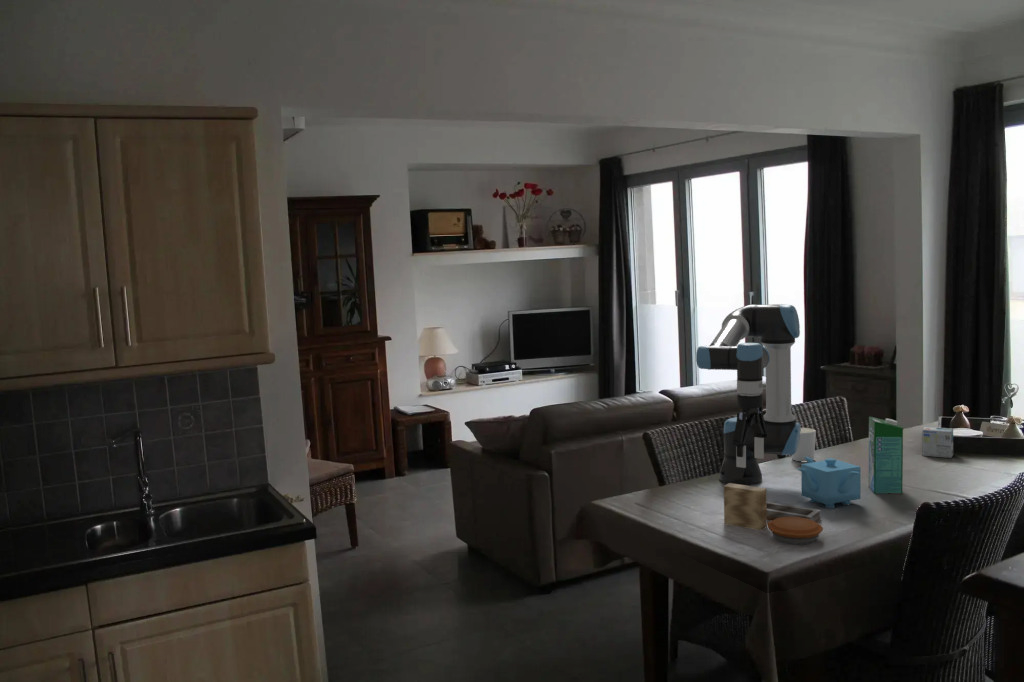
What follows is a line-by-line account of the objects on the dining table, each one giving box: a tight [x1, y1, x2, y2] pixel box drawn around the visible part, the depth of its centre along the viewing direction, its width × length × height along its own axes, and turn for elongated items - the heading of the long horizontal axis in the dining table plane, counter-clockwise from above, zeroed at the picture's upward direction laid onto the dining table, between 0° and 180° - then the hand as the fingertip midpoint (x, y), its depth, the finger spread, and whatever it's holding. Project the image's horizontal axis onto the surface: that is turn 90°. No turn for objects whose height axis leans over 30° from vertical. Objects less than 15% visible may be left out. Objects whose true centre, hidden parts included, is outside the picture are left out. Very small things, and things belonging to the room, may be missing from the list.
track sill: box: [767, 501, 822, 523], centre depth 264 cm, size 20×9×3 cm, turn 51°
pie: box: [767, 517, 824, 545], centre depth 246 cm, size 15×16×5 cm
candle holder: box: [791, 427, 817, 462], centre depth 336 cm, size 10×10×12 cm
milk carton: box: [868, 416, 904, 495], centre depth 289 cm, size 9×9×25 cm
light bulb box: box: [921, 426, 954, 459], centre depth 335 cm, size 11×7×11 cm, turn 58°
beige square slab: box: [723, 483, 768, 531], centre depth 258 cm, size 12×4×12 cm, turn 51°
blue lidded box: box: [797, 457, 862, 509], centre depth 278 cm, size 19×19×15 cm
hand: (750, 462), depth 258 cm, fingers open, 13 cm apart
